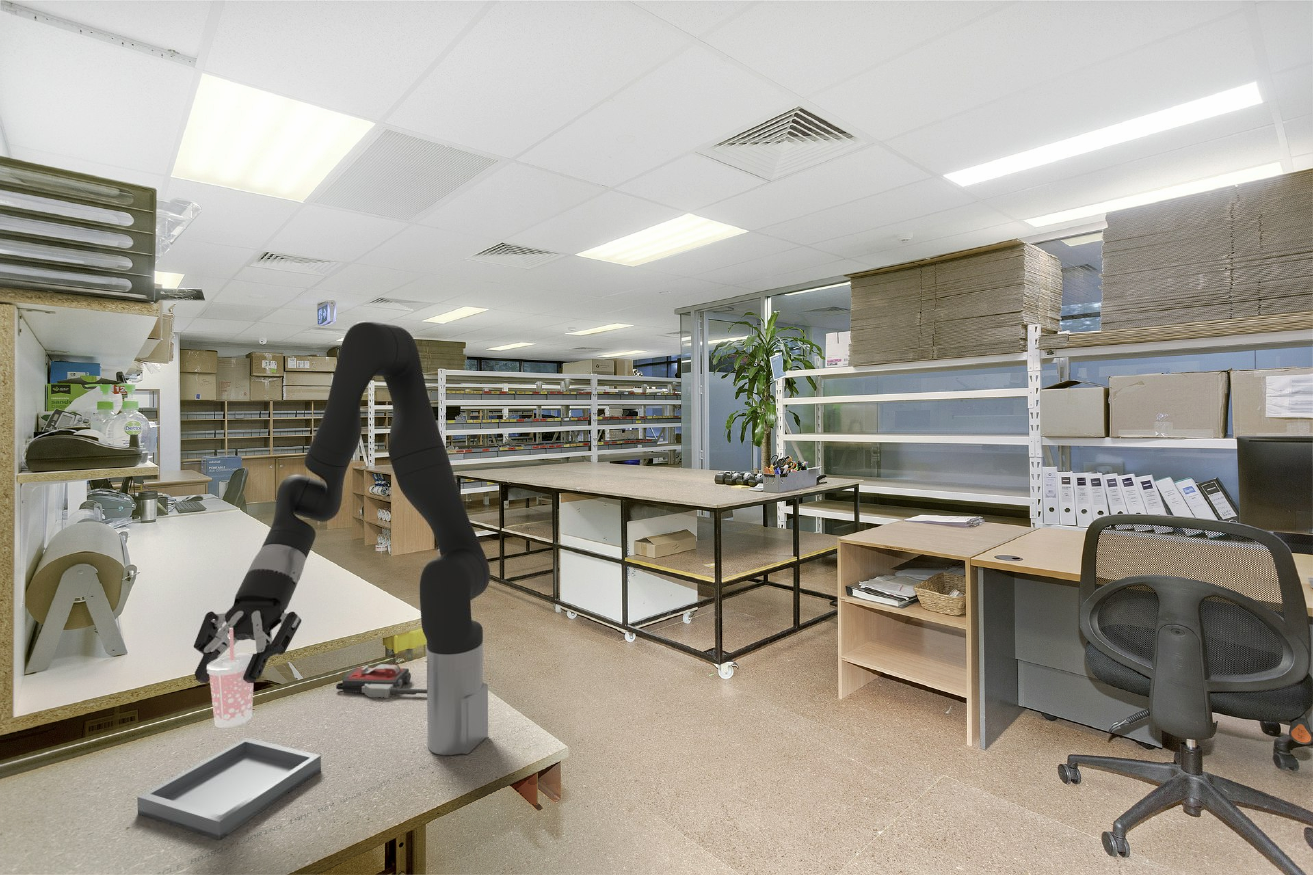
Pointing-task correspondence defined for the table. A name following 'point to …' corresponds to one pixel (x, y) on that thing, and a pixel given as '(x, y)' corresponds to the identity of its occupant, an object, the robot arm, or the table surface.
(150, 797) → the tray
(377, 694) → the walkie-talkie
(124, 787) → the table surface
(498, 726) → the table surface
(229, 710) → the beverage cup
